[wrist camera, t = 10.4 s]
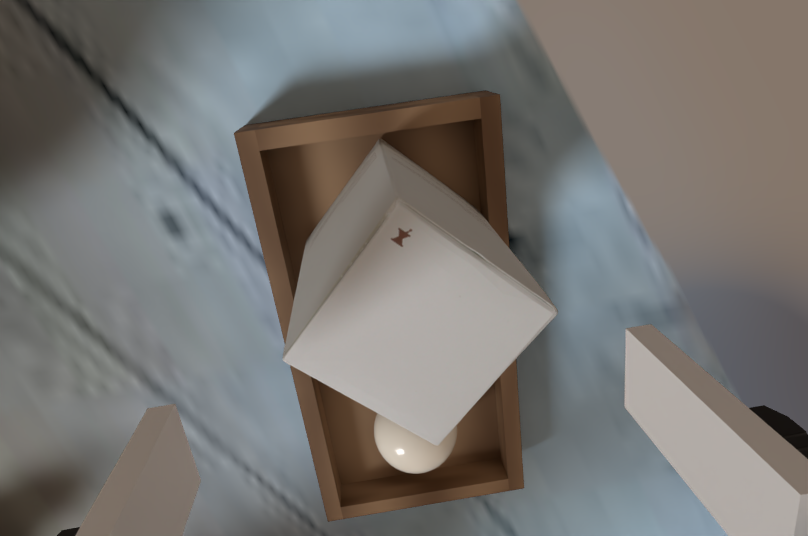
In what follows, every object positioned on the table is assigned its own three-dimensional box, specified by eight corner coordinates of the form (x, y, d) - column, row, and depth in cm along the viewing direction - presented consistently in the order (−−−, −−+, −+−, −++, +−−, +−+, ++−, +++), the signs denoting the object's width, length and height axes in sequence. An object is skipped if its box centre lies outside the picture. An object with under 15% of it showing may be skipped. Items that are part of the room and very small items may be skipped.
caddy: (329, 487, 39) (327, 521, 36) (244, 125, 29) (233, 133, 26) (511, 457, 39) (524, 488, 36) (485, 90, 30) (499, 94, 27)
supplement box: (301, 242, 31) (271, 359, 19) (380, 133, 29) (400, 190, 17) (406, 310, 33) (436, 453, 21) (485, 213, 31) (566, 311, 19)
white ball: (378, 442, 36) (382, 499, 32) (366, 378, 34) (369, 429, 30) (453, 429, 36) (468, 484, 32) (445, 365, 35) (460, 414, 30)
